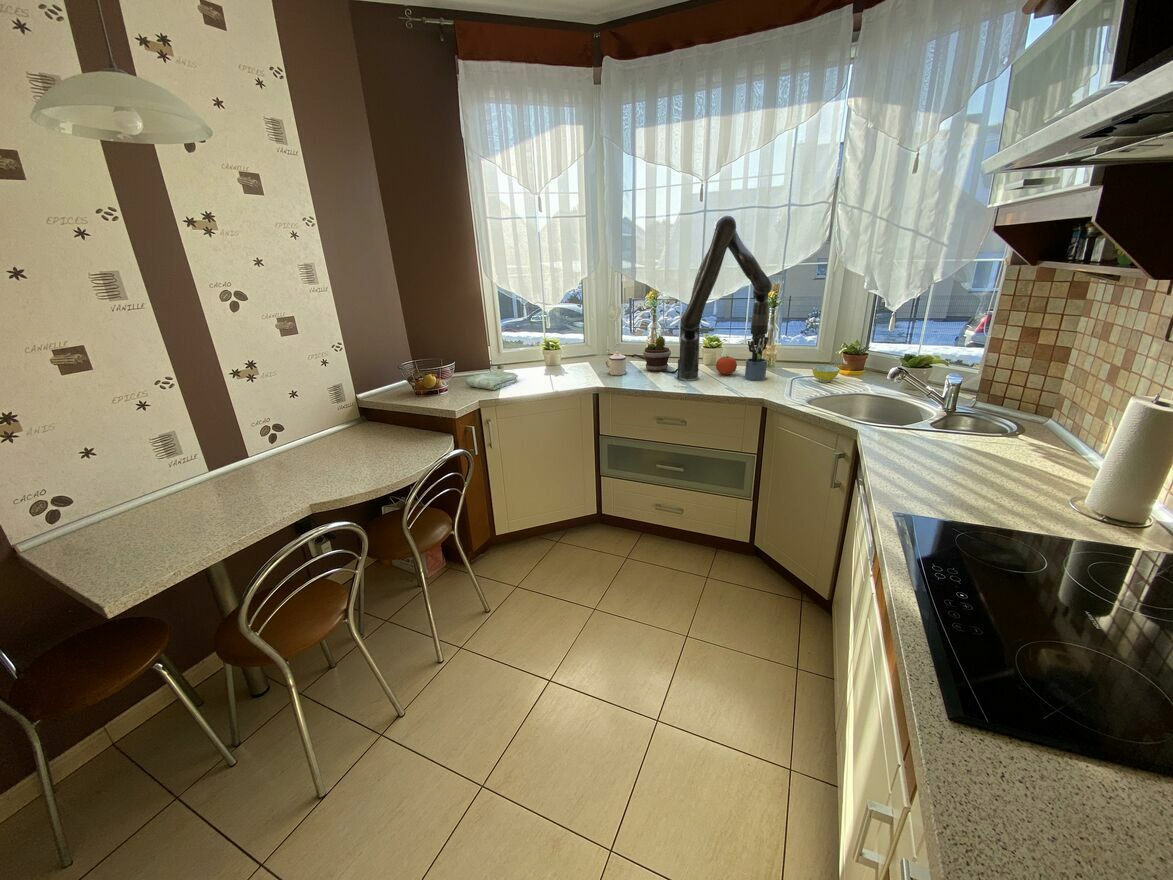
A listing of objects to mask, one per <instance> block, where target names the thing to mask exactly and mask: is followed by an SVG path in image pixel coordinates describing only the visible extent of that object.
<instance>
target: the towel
mask: <svg viewBox="0 0 1173 880" xmlns="http://www.w3.org/2000/svg"><path fill="white" fill-rule="evenodd" d="M518 377H519V375H518V374H517V373H515V372H510V371H504V370H503V371H502V370H501V371H499V370H498V371H494V370H493V371H488V372H485V373H479V374H475V375H471V376H469V377H467V378H466V379H465V384H466V385H467V386H469V387H472V388H473V387H474V388H478V389H485V390H490V391H495V390H499V389H501V388H504V387H506V386H509V385H513V384H514V383H517V382H518V380H519V379H518Z"/></svg>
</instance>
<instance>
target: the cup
mask: <svg viewBox="0 0 1173 880" xmlns="http://www.w3.org/2000/svg"><path fill="white" fill-rule="evenodd" d="M767 366H768V359H766V358H762V359H760V360H758V361H753V360H752V357H750V358H746V359H745V371H744V380H747V381H753V382H760V381H761V382H762V381H764V380H766V377H767Z"/></svg>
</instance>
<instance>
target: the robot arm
mask: <svg viewBox="0 0 1173 880" xmlns="http://www.w3.org/2000/svg"><path fill="white" fill-rule="evenodd" d="M737 227H738V223H737V220H736V218H735V217H734V216H732V215H729V214H727V215H722V216H721V217H719V218H717V220H716V221H715V223H714V226H713V235H712V239H711V241H710V242H711V243H710V245H709V248H708V250H707V251H706V252H705V253H706V254H705V255H704V257H703V259H702V261H701V262H700V263H701V264H700V265H699V267H698V271H697V272H696V276H695V279H694V283H693V287H692V292H691V296H690V300H689V302H688V304H687V307H686V309H685V310H684V311H683V312H682V313H681V316H680V318H679V319H680V320H679V321H680V323H679V359H678V360H677V368H676V369H675V370H667V369H666V370H662V371H661V372H663V373H667V374H668V373H669V374H676V373H677V379H679V380H680V381H687V382H688V381H689V382H692V381H697V380H698V379H699V371H700V370H699V363H700V342H701V341H700V338H701V337H700V329H701V328H700V327H701V322H702V319H703V314H704V311H705V307H706V304H707V302H708V301H709V299H710V296H711V294H712V292H713V289H714V287H715V285H716V282H717V280H718V277H719V274H720V272H721V270H722V267H723V266H722V265H723V262H724V259H725V255H726V252H727V249H728V250H729V251H730V253H731V254H732V256H733V257H734V259H735V261H736V262H737V264H738V266H739V267H740V269H741V271H742V273H743V274H744V275H745V277H746V278H747V279H748V280H749V281H750V283H751V285H752V286H753V288H752V289H753V290H752V292H753V293H752V294H753V297H752V298H753V304H752V305H753V306H752V316H751V321H750V322H751V323H750V334H751V335H752V336H751V339H750V340H747V345H748V351H749V353H751V358H752V360H753V361H757V354H760V356H761V358H760V359H763V352H764V351H765V350H766V349H767V346H768V342H769V339H770V338H769V337H767V336H766V335H767V334H768V329H769V320H770V317H769V315H770V314H769V311H770V301H769V294H770V293H771V291H772V288H773V284H772V281H771V279H770V278H769V277H768V276H767V274H766V273H765V272H764V270H763V269H762V267H761V265H760V264H759V262H758V261H757V259H756V258H755V256H754V254H753V253H752V252H751V251H750V250H749V248H748V247H747V245H745V243H744V241H743V240H742V239H741V237H740V235H739V233H738V230H737ZM633 355H634V356H633ZM633 357H638V358H640V359H644V360H646V359H645V356H643V355H642V356H641V355H639V354H637V353H633V354H632V355H631V358H633Z"/></svg>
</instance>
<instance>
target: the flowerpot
mask: <svg viewBox="0 0 1173 880" xmlns="http://www.w3.org/2000/svg"><path fill="white" fill-rule="evenodd" d="M666 343H667V339H666V338H665V337H664V335H662V334H661V335H658V336H657V337H655V339H654V342H650V343H648V344H647V347H645V348H644V350H643V352H642V356H643V357H645V359H644V360H645V363H646V364H645V368H646V369H647V371H649V372H651V373H652V372H653V373H660V372H663V371H662V370H667V369H668V367H669V363H668V362H669V358H670V356H671V354H672V351H671V350H670V348H669V347H668V346H667V347H666Z"/></svg>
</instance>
